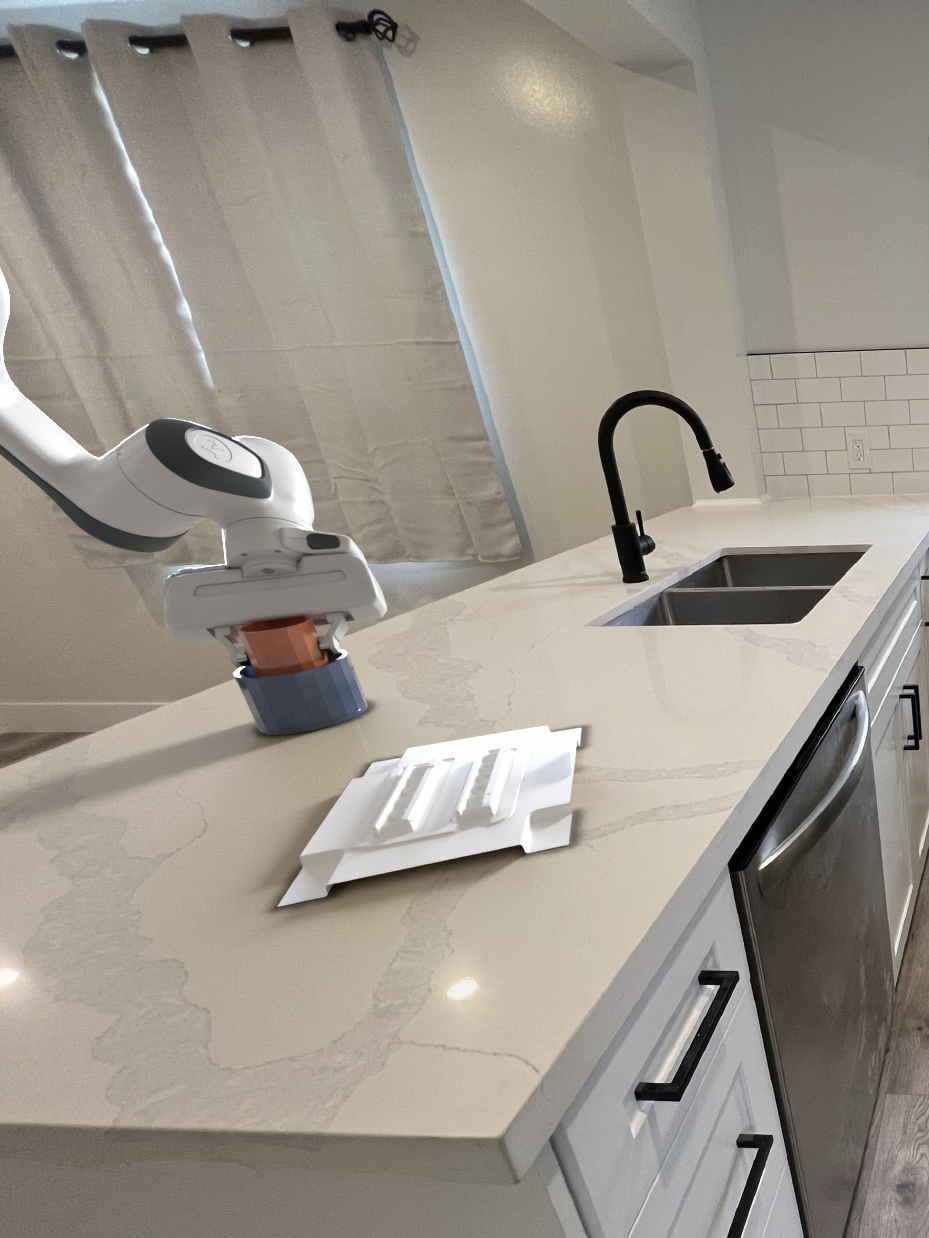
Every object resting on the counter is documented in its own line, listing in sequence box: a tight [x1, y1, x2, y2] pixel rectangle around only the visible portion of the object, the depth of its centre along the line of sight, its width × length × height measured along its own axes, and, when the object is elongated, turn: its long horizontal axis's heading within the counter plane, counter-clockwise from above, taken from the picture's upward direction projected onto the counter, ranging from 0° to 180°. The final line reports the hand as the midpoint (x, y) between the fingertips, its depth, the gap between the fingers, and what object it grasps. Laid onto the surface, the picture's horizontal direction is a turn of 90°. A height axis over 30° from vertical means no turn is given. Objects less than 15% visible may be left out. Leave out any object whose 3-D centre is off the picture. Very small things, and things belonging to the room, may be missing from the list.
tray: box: [277, 724, 583, 907], centre depth 75 cm, size 20×28×4 cm
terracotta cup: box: [237, 616, 329, 677], centre depth 94 cm, size 7×7×9 cm
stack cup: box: [232, 648, 369, 736], centre depth 95 cm, size 11×11×7 cm
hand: (287, 658), depth 93 cm, fingers closed on terracotta cup, 7 cm apart
